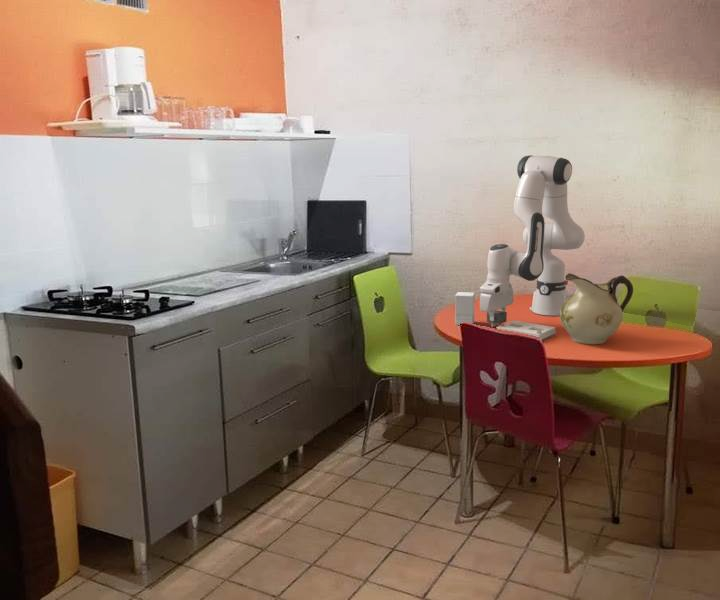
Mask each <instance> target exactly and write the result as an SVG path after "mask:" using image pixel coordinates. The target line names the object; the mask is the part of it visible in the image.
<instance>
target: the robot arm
mask: <svg viewBox="0 0 720 600" xmlns="http://www.w3.org/2000/svg"><path fill="white" fill-rule="evenodd" d="M516 167H517V168H516V171H517V172H516V173H517V176H518V177H519V178H518V179H519V182H518V184H517V186H516V191H515V196H514V201H513V212H514V215H515V216H516V218H517V219H518V220H519V221H520V222H521V223H523V224H524V226H525V228H524V229H523V232H522V240H523V243H524V244H525V246H526V253H524V252H522V251H518V250H516V249H513V248H511V247H510V246H509V245H508V244H506V243H504V244H503V243H501V244H500V243H499V244H494V245H492V246H491V247H490V248H489V249H488V254H487V262H486V263H487V264H486V266H487V267H486V268H487V276H486V281H485V282H484V283H483V284H481V286H480V287H479V292H480V297H479V309H480V311H481V312H483V313H487V312H488V313H489V316H490V321H494V320H495V318H496V316H494V313H495V310H499V311H504V312H506V309H507V306H511V305H513V303H514V289H513V286H512V284H511V282H510V277H511V276H512V275H513V276H515V277H518V278H521V279H523V280H526V281H530V282H533V281H535V280H536V290H535V291H533V297H532V305H531V306H529V310H530V311H531V312H532V313H533V314H537V315H543V316H550V317H551V316H554V317H555V316H560V308H561V306H562V304H563V303H564V301H565V300H566V299H567V298H568V297H569V296H571V295H572V294H570V293H569V291H568V290H567V286H568V284H569V281H568V280H566V279H565V270H566V269H565V268H566V265H565V262H564V261H563V260H562V259H561V258H559V257H557V256H556V255H554V254H553V253H552V250H563V251H569V250H575V249H580V247H582V245H583V244H584V242H585V239H586V237H585V235H586V234H585V232H584V229H583V228H582V227H581V226H580V225H579V224H577V223H576V222H575V221H574V220H573V218H572V217H571V215H570V212H569V208H568V207H569V206H568V205H569V204H568V181H569V180H571V177H572V174H573V166H572V163H571V162H570V160H569V159H566V158H564V157H556V156H552V155H551V156H550V155H525V156H523V157H521V159H520V160H519V162H518V164H517V166H516ZM545 217H546V218H548V219H550V220H551V221H552V222H553V223H547V222H546V223H545Z"/></svg>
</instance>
